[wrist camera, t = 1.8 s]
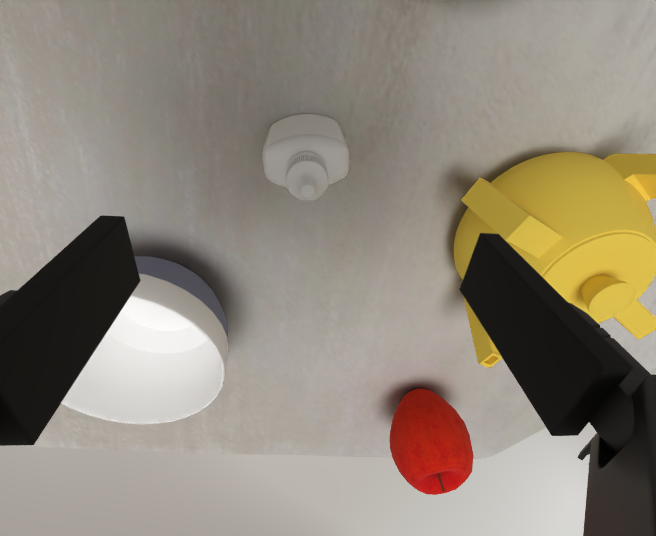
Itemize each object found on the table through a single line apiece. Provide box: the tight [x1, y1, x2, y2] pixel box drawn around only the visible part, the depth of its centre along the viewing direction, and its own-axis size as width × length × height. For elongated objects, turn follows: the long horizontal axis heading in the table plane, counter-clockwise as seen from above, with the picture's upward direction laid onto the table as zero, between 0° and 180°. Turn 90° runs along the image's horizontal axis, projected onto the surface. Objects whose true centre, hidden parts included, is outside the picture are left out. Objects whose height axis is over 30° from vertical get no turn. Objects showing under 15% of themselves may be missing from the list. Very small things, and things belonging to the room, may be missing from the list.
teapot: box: [454, 152, 656, 368], centre depth 30 cm, size 17×17×12 cm
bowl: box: [61, 256, 229, 424], centre depth 32 cm, size 16×16×10 cm
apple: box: [390, 388, 473, 495], centre depth 44 cm, size 10×10×12 cm
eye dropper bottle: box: [263, 114, 349, 201], centre depth 23 cm, size 4×6×12 cm
